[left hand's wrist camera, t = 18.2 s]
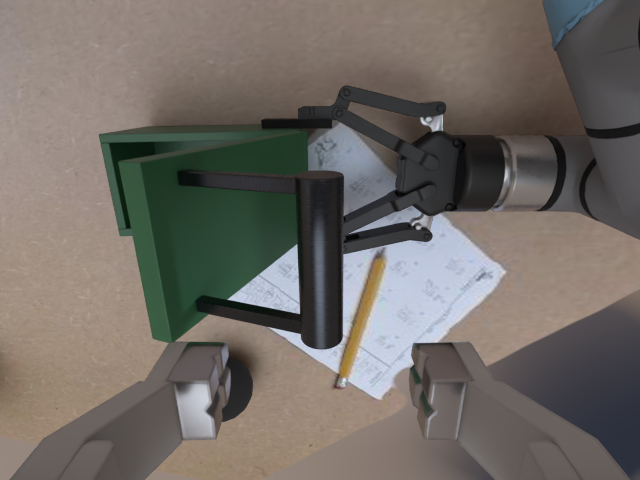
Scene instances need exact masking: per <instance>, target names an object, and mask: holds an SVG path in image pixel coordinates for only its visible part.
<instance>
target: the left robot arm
mask: <svg viewBox="0 0 640 480" xmlns="http://www.w3.org/2000/svg"><path fill="white" fill-rule="evenodd" d="M228 357H229V353H228V346H227V344H226V343H221V342H171V343H169V344H168V345H167V346H166V348H165V350H164V351H163V353H162V354H161V356H160V358H159V359H158V361H157V362H156V364H155V366H154V367H153V369H152V370H151V372H150V373H149V375H148V377H147V378H146V380H145V381H139V382H137V383H135V384H134V385H132V386H130V387H129V388H127V389H125V390H124V391H122V392H120V393H119V394H117V395H115V396H114V397H112V398H110V399H109V400H107V401H105V402H104V403H102V404H100V405H99V406H97V407H95V408H94V409H92V410H90V411H89V412H87V413H85V414H84V415H82V416H80V417H79V418H77V419H75V420H74V421H72V422H70V423H69V424H67V425H65V426H64V427H62V428H60V429H59V430H57V431H55V432H54V433H52V434H50V435H49V436H47V437H45V438H44V439H43V440H42V441H41V442H40V443H39V445H38V446H37V447H36V448H35V449H34V451H33V452H32V453H31V454H30V456H29V457H28V458H27V459H26V460H25V462H24V463H23V464H22V465H21V467H20V468H19V469H18V470H17V471H16V473H15V474H14V475H13V476H12V478H11V479H10V480H145V479H146V478H147V477H148V476H149V475H150V474H151V473H152V472H153V471H154V470H155V469H156V468H157V467H158V466H159V465H160V464H161V463H162V462H163V461H164V460H165V459H166V458H167V457H168V456H169V455H170V454H171V453H172V452H173V451H174V450H175V449H176V448H177V447H178V446H179V445H180V444H181V443H182V440H213V439H216V438H217V435H218V432H219V429H220V425H221V422H222V419H223V416H222V409H223V408H224V407H225V406H226V405H227V402H228V399H229V394H230V387H231V373H230V368H229V367H228V366H227V365H226V362H227V359H228ZM411 357H412V359H413V362H414V365H413V366H412V367H411V368H410V374H409V386H410V394H411V399H412V402H413V405H414V406H415V407H416V408H417V409H418V416H417V419H418V422H419V425H420V428H421V432H422V435H423V438H424V439H426V440H458V443H459V444H460V445H461V446H462V447H463V448H464V449H465V450H466V451H467V452H468V453H469V454H470V455H471V456H472V457H473V458H474V459H475V460H476V461H477V462H478V463H479V464H480V465H481V466H482V467H483V468H484V469H485V470H486V471H487V472H488V473H489V474H490V475H491V476H492V477H493V478H494V479H495V480H630V479H629V478H628V476H627V475H626V474H625V473H624V471H623V470H622V469H621V468H620V466H619V465H618V464H617V463H616V462H615V460H614V459H613V458H612V457H611V455H610V454H609V453H608V452H607V451H606V449H605V448H604V447H603V446H602V444H601V443H600V442H599V441H598V440H597V439H596V438H594V437H593V436H591V435H589V434H588V433H586V432H584V431H583V430H581V429H579V428H578V427H576V426H574V425H573V424H571V423H569V422H568V421H566V420H564V419H563V418H561V417H559V416H558V415H556V414H554V413H553V412H551V411H549V410H548V409H546V408H544V407H543V406H541V405H540V404H538V403H536V402H535V401H533V400H531V399H530V398H528V397H526V396H524V395H523V394H521V393H520V392H518V391H516V390H515V389H513V388H511V387H510V386H508V385H506V384H505V383H503V382H501V381H495V380H494V378H493V377H492V375H491V374H490V372H489V370H488V369H487V367H486V366H485V364H484V363H483V361H482V359H481V358H480V356H479V355H478V353H477V352H476V350H475V348H474V347H473V345H472V344H471V343H470V342H450V343H413V346H412V353H411Z"/></svg>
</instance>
